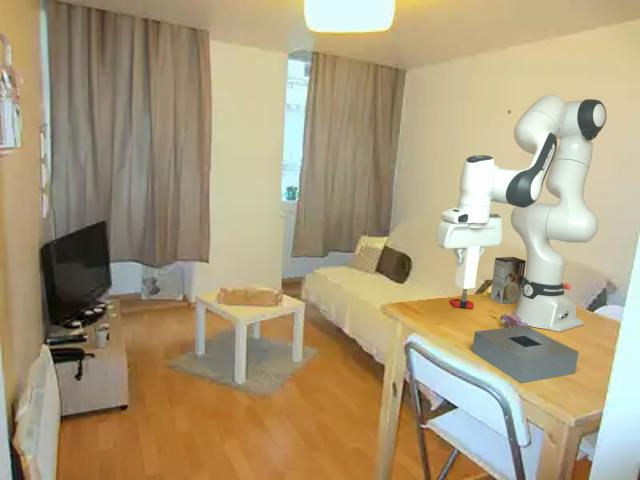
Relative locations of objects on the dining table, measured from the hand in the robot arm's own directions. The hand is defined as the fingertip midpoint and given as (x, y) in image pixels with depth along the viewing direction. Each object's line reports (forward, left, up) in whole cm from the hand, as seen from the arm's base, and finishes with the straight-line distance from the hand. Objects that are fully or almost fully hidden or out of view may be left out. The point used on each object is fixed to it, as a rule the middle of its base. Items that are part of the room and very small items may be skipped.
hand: (467, 262), depth 137 cm
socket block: (-7, +18, -23) cm, 30 cm away
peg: (0, 0, -7) cm, 7 cm away
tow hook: (-21, -25, -24) cm, 40 cm away
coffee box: (-41, -25, -23) cm, 53 cm away
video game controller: (-21, +1, -23) cm, 32 cm away
